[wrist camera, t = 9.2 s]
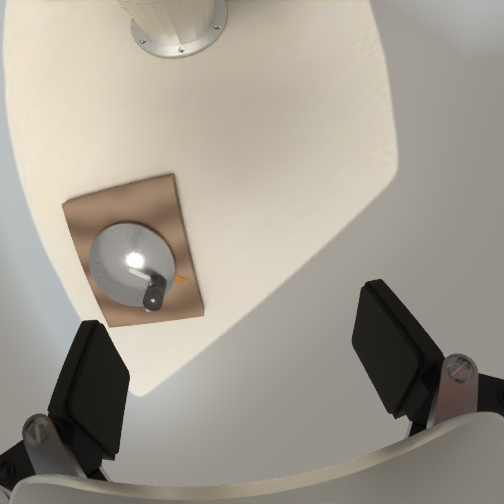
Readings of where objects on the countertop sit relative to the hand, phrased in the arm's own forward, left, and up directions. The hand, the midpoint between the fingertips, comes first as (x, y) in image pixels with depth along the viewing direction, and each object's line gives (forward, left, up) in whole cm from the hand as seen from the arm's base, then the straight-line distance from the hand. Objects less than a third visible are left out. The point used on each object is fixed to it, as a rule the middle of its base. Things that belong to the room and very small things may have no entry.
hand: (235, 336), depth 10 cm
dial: (+10, -14, -28) cm, 33 cm away
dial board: (+10, -14, -30) cm, 35 cm away
